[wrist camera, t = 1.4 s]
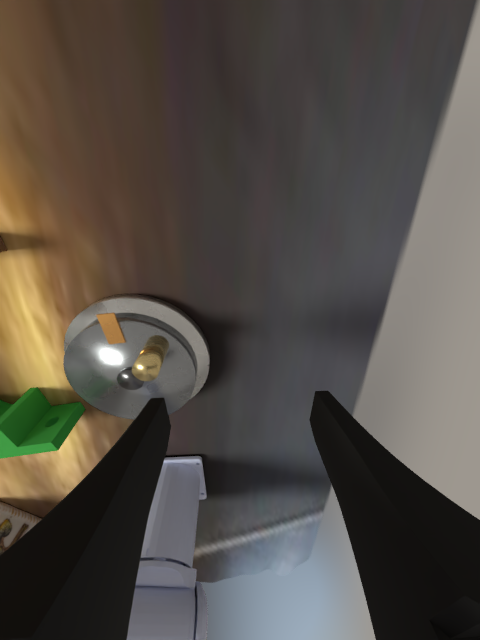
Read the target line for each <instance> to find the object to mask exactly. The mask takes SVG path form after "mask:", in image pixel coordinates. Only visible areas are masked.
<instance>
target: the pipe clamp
mask: <svg viewBox="0 0 480 640" xmlns="http://www.w3.org/2000/svg"><path fill="white" fill-rule="evenodd" d="M84 411H85V408H84V407H83V405H82V404H81V402H76V403H69V404H63V405H56V406H52V405H51V404H50V403H49V402H48V400H47V399H46V398H45V397H44V395H43V394H42V393H41V391H40V390H39V389H38V388H37V387H36V388H30V389H29V390H28V391H27V392H26V393H25V394H24V395H23V396H22V397H21V398H20V399H18V400H17V401H16V402H15V403H14V404H9V403H6V402H4V401H2V400H0V458H7V457H14V456H21V455H28V454H35V453H42V452H50V451H57V450H59V448H60V447H61V445H62V444H63V442H64V441H65V439H66V438H67V436H68V435H69V433H70V432H71V430H72V429H73V427H74V426H75V424H76V423H77V421H78V420H79V418H80V417H81V415H82V414H83V412H84Z"/></svg>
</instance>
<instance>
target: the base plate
mask: <svg viewBox="0 0 480 640" xmlns="http://www.w3.org/2000/svg"><path fill="white" fill-rule="evenodd" d="M104 313H115V314H116V313H137V314H143V315H147V316H151V317H154V318H156V319H159V320H161V321H163V322H165V323H167V324H169V325H170V326H172V327H173V328H175V329H176V330H177V331H179V332H180V333H181V334H182V335H183V336H184V337H185V338H186V340H187V341H188V342H189V344H190V345H191V346H192V348H193V350H194V352H195V355H196V359H197V365H198V367H197V376H196V382H195V387H194V391H193V393H192V395H191V397H190V399H191V398H192V397H194V396H195V395H196V394H197V393H198V392H199V391H200V389H201V388H202V387H203V385H204V383H205V381H206V379H207V376H208V372H209V366H210V350H209V346H208V342H207V339H206V337H205V335H204V333H203V332H202V330H201V329H200V327H199V326H198V325H197V324H196V322H195V321H194V320H193V319H192V318H191V317H190V316H188V315H187V314H186V313H185V312H184V311H182V310H181V309H179V308H178V307H176V306H174V305H172V304H170V303H168V302H166V301H163V300H161V299H158V298H155V297H151V296H146V295H140V294H120V295H114V296H109V297H106V298H103V299H101V300H98V301H97V302H95V303H93V304H91V305H90V306H89V307H87V308H86V309H85V310H84V311H82V312H81V313H80V314H78V315H77V316H76V318H75V319H74V320H73V321H72V322H71V324H70V326H69V327H68V330H67V332H66V335H65V341H64V351H66V349H67V347H68V345H69V344H70V342H71V341H72V339H74V338H75V337H76V336H77V335H78V334H79V333H80V332H81V331H82V330H83V329H84V328H85V327H87V326H88V325H89V324H90V323H92V322H93V321H95V320H96V319H98V318H97V316H96V315H97V314H104ZM190 399H189V400H190Z"/></svg>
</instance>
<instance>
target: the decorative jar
mask: <svg viewBox="0 0 480 640" xmlns="http://www.w3.org/2000/svg"><path fill="white" fill-rule="evenodd" d="M40 520H42V518H39V517H37V516H35V515H32V514H30V513H28V512H25V511H22V510H20V509H17V508H15V507H13V506H11V505H8V504H6V503H3V502H1V501H0V555H1V554H2V553H4V552H5V551H6V550H7V549H8V548H9V547H11V546H12V545H13V544H14V543H15V542H16V541H18V540H19V539H20V538H21V537H22V536H23V535H24V534H26V533H27V532H28V531H29V530H30V529H31V528H32V527H34V526H35V525H36V524H37V523H38V522H39V521H40Z"/></svg>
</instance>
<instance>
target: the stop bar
mask: <svg viewBox="0 0 480 640" xmlns="http://www.w3.org/2000/svg"><path fill="white" fill-rule="evenodd" d="M3 251H7V249H6V247H5V245H4V243H3V241H2V239H1V236H0V252H3Z"/></svg>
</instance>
